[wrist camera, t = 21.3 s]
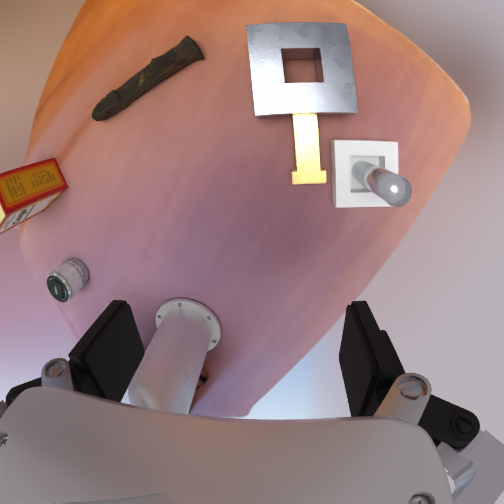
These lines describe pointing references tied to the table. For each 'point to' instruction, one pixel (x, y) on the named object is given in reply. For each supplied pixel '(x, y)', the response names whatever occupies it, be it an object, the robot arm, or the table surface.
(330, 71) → the socket
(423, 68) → the table surface
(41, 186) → the baking soda box
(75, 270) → the camera lens
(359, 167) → the grey cylindrical peg
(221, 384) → the table surface
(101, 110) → the hand tool
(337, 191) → the tray
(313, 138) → the key
